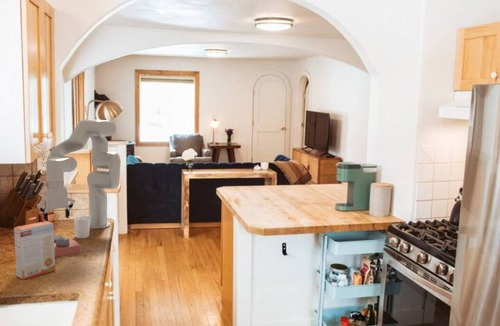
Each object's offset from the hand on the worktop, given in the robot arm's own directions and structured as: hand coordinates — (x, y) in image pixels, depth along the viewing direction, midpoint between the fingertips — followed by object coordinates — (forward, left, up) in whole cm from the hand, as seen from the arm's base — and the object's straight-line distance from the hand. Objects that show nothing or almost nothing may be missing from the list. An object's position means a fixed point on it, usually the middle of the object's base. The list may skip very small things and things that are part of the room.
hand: (56, 219), depth 231 cm
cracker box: (+31, -17, -14) cm, 39 cm away
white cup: (-11, +16, -14) cm, 23 cm away
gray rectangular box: (0, 0, -14) cm, 14 cm away
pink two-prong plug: (+6, 0, -14) cm, 15 cm away
